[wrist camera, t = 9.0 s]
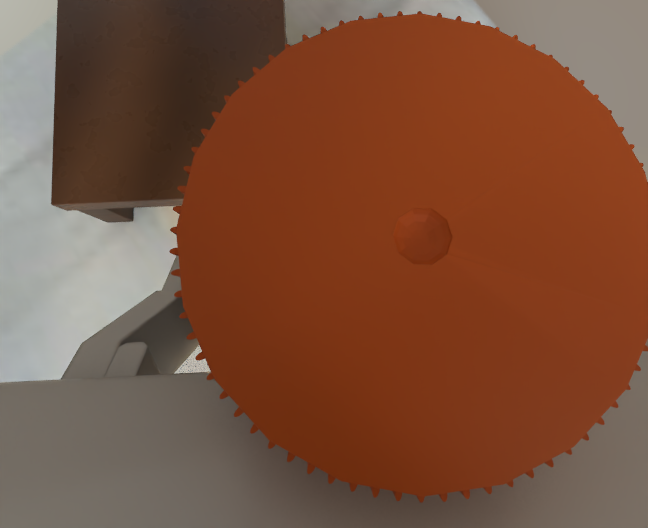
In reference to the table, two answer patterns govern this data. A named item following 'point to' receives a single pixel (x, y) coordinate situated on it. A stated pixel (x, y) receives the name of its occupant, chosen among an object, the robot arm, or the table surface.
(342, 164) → the vinegar
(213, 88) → the stand
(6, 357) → the table surface
